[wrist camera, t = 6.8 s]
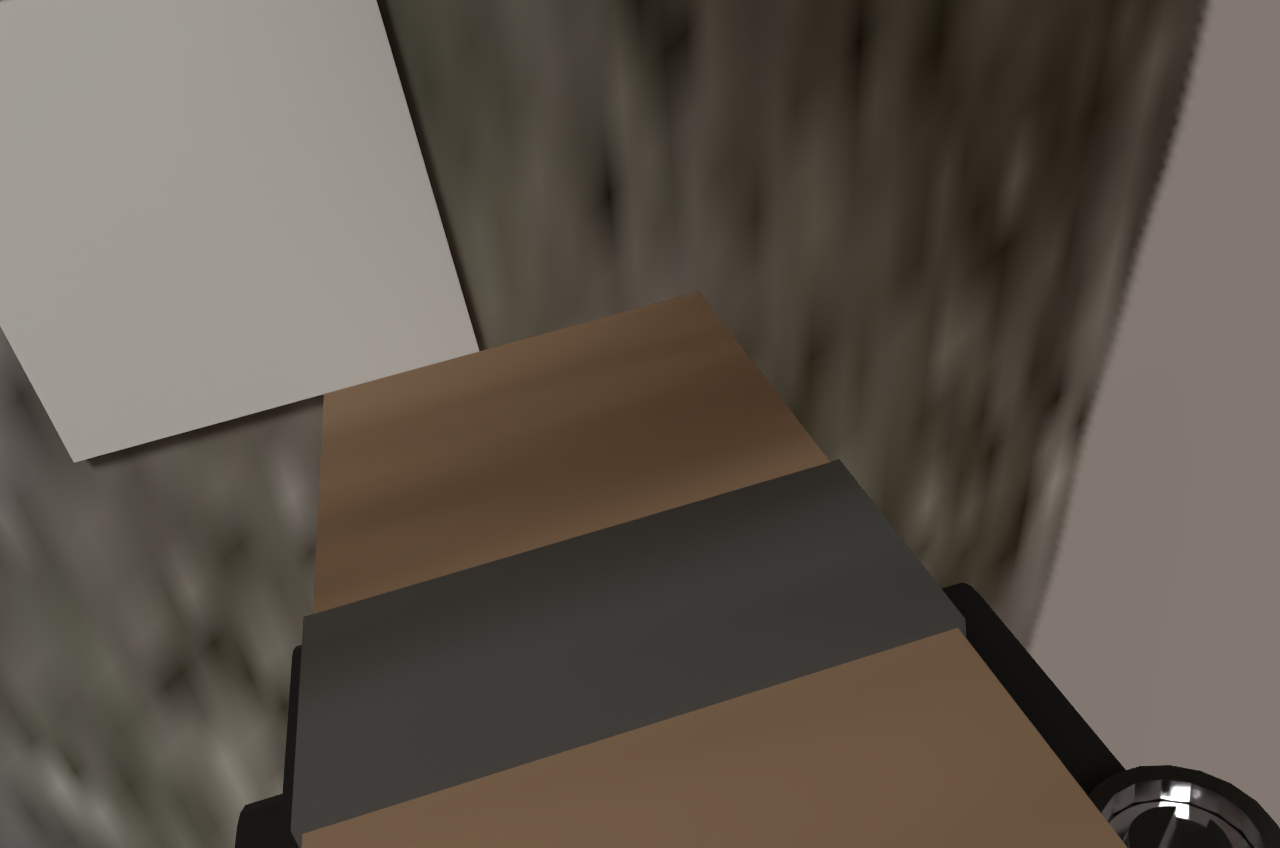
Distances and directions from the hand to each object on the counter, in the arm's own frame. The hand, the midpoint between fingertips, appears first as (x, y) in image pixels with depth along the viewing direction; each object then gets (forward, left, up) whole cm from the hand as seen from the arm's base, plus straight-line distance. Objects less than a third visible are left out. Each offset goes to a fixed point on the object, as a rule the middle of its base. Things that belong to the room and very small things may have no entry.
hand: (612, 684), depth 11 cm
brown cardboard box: (0, 0, -2) cm, 2 cm away
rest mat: (-2, -5, -15) cm, 16 cm away
